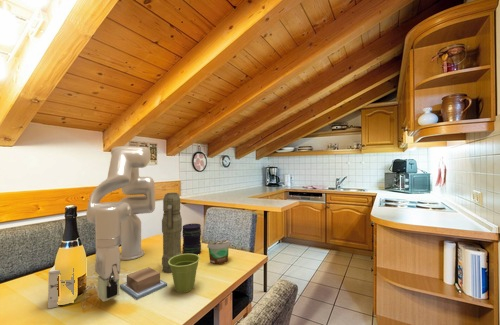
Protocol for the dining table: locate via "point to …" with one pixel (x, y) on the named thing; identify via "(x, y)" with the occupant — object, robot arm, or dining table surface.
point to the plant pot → (184, 271)
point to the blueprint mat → (144, 292)
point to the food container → (219, 252)
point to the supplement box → (53, 287)
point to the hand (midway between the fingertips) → (108, 292)
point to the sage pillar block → (105, 288)
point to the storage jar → (191, 239)
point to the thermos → (171, 229)
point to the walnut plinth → (143, 279)
